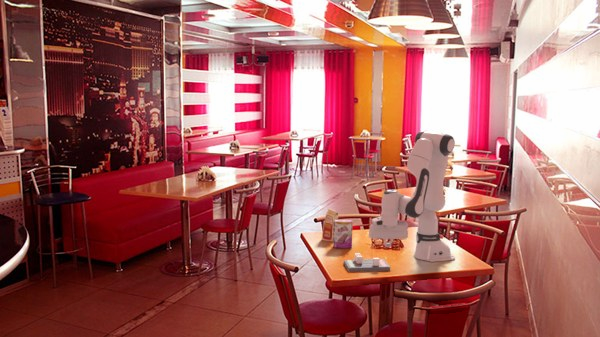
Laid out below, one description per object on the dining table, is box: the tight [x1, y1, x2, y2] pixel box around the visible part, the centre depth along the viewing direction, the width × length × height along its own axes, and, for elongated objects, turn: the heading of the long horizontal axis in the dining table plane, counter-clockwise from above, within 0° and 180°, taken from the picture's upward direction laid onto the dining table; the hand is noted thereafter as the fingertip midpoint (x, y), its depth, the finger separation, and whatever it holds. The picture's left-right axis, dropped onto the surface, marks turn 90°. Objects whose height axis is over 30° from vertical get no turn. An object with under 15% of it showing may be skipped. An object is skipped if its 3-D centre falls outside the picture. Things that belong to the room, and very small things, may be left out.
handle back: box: [353, 252, 362, 261], centre depth 287 cm, size 3×2×4 cm
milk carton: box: [321, 208, 339, 242], centre depth 338 cm, size 9×9×20 cm
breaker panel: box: [343, 258, 391, 273], centre depth 283 cm, size 22×14×2 cm, turn 95°
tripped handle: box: [372, 257, 381, 266], centre depth 278 cm, size 3×2×4 cm
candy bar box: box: [333, 219, 354, 249], centre depth 320 cm, size 11×5×16 cm, turn 84°
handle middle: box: [356, 255, 363, 264], centre depth 282 cm, size 3×2×4 cm
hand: (387, 246), depth 278 cm, fingers closed
